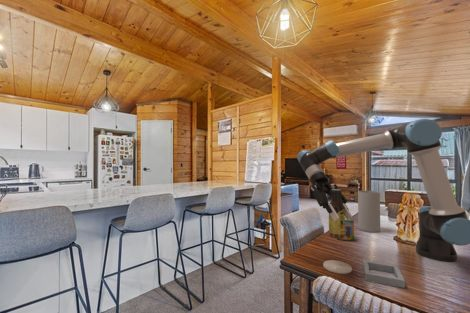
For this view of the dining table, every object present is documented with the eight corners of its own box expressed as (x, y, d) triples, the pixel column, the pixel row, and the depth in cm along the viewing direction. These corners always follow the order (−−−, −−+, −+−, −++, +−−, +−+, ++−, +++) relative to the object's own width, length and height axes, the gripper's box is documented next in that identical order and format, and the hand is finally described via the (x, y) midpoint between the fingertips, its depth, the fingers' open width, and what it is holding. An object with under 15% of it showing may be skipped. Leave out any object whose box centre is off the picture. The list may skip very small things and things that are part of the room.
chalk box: (354, 241, 129) (354, 214, 130) (337, 240, 131) (336, 213, 131) (349, 235, 138) (349, 211, 139) (333, 234, 140) (333, 210, 140)
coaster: (351, 265, 99) (351, 263, 99) (352, 276, 89) (352, 274, 89) (324, 260, 104) (324, 258, 104) (322, 270, 94) (322, 268, 94)
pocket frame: (397, 272, 93) (397, 265, 93) (404, 287, 81) (404, 280, 81) (363, 266, 98) (363, 260, 98) (365, 280, 86) (365, 273, 86)
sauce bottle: (344, 240, 92) (343, 191, 93) (327, 237, 96) (327, 190, 96) (345, 235, 98) (345, 189, 98) (330, 233, 101) (329, 188, 102)
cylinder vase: (354, 228, 154) (353, 191, 154) (366, 226, 159) (366, 190, 160) (372, 233, 142) (371, 193, 143) (384, 231, 148) (384, 192, 148)
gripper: (329, 181, 115) (356, 221, 99) (296, 182, 109) (319, 225, 93) (336, 170, 110) (366, 212, 94) (303, 171, 104) (329, 215, 88)
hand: (343, 218), depth 94 cm, fingers closed on sauce bottle, 6 cm apart
